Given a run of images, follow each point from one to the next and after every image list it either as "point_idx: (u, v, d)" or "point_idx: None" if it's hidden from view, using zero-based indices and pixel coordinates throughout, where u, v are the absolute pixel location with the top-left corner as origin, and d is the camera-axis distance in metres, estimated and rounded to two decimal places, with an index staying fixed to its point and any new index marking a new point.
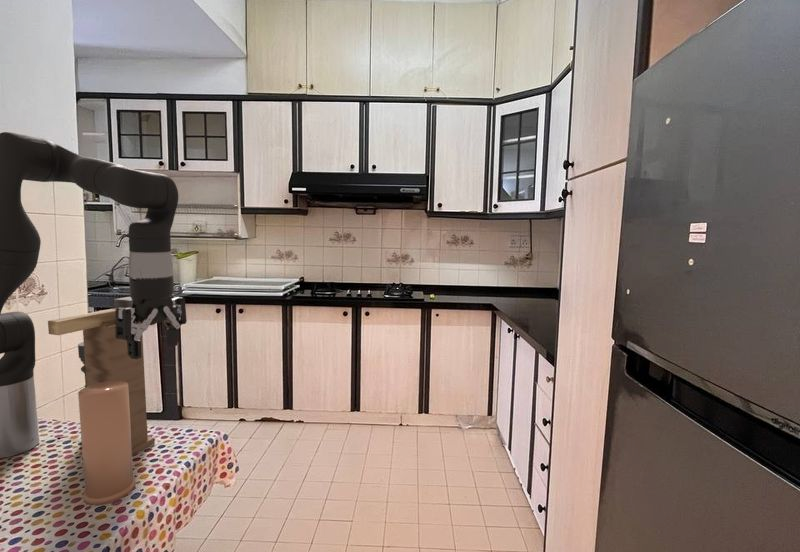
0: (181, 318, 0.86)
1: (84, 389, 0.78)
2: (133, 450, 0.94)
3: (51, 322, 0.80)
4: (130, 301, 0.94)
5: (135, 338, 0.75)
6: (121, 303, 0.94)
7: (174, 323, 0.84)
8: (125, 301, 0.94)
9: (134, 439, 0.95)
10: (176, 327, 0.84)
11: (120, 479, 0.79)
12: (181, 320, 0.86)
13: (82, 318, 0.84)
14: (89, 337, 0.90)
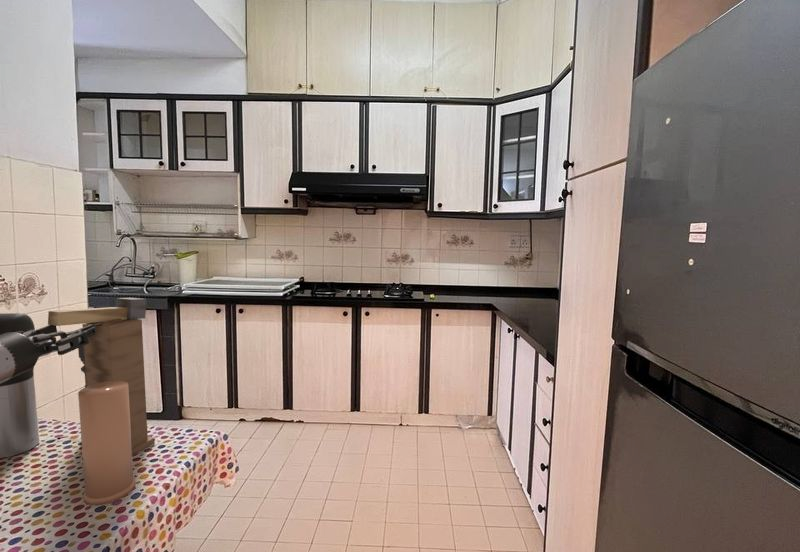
0: None
1: (84, 389, 0.78)
2: (133, 450, 0.94)
3: (52, 312, 0.80)
4: (132, 300, 0.94)
5: None
6: (123, 302, 0.95)
7: None
8: (127, 300, 0.94)
9: (134, 439, 0.95)
10: None
11: (120, 479, 0.79)
12: None
13: (83, 311, 0.85)
14: (89, 337, 0.90)
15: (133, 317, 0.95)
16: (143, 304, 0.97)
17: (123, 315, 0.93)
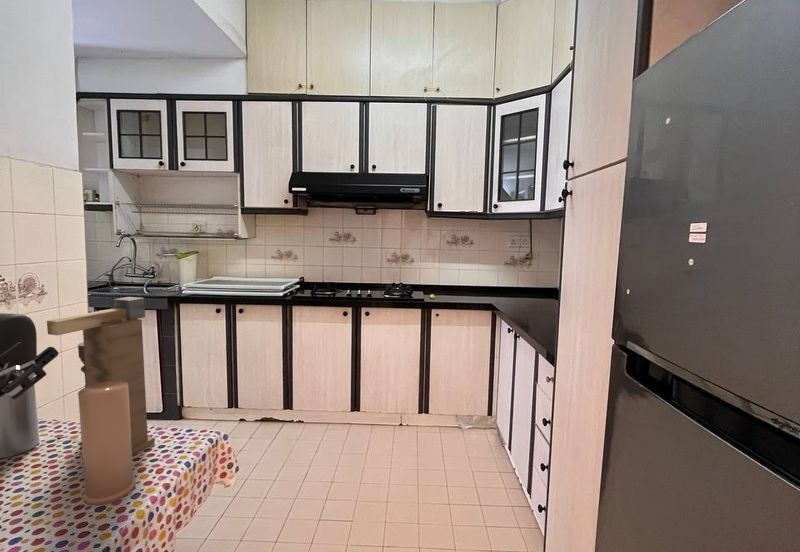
0: None
1: (84, 389, 0.78)
2: (133, 450, 0.94)
3: (50, 322, 0.80)
4: (129, 301, 0.94)
5: None
6: (121, 303, 0.94)
7: None
8: (124, 301, 0.94)
9: (134, 439, 0.95)
10: None
11: (120, 479, 0.79)
12: None
13: (81, 318, 0.84)
14: (89, 337, 0.90)
15: (133, 317, 0.95)
16: (142, 304, 0.97)
17: (122, 316, 0.93)
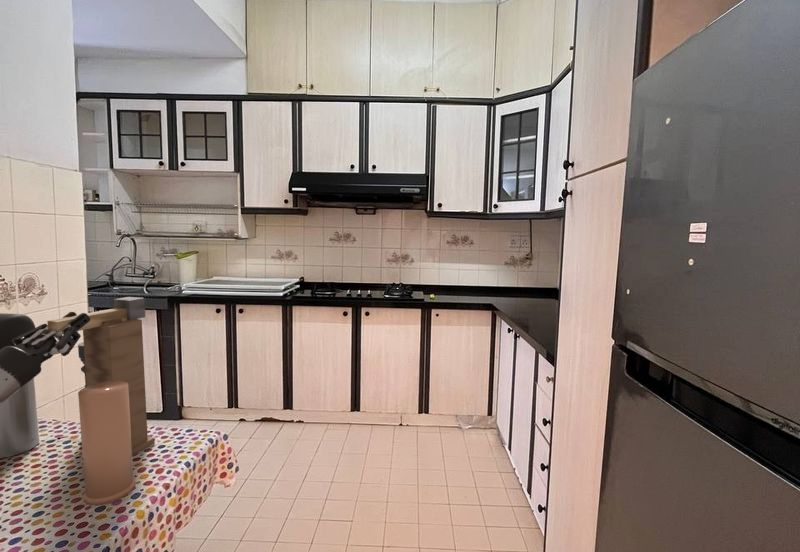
0: None
1: (84, 389, 0.78)
2: (133, 450, 0.94)
3: (51, 322, 0.80)
4: (130, 301, 0.94)
5: None
6: (121, 303, 0.94)
7: None
8: (125, 301, 0.94)
9: (134, 439, 0.95)
10: None
11: (120, 479, 0.79)
12: None
13: None
14: (89, 337, 0.90)
15: (133, 317, 0.95)
16: (142, 304, 0.97)
17: (123, 316, 0.93)
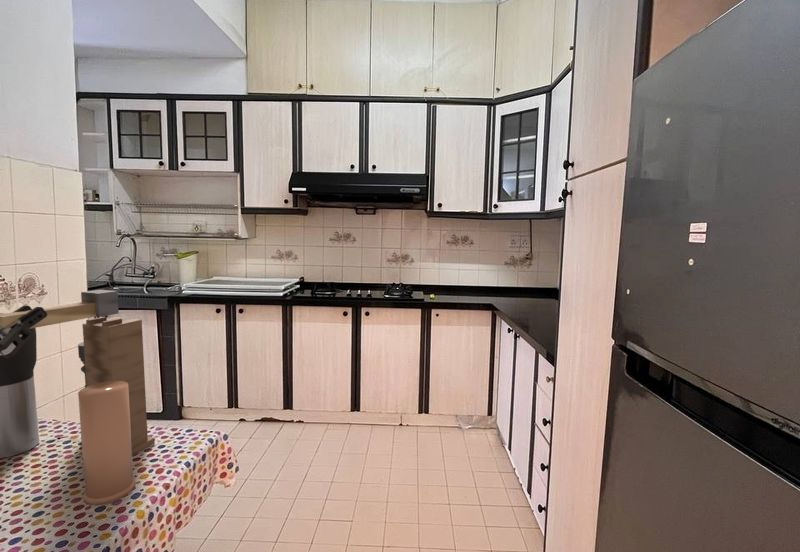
0: None
1: (84, 389, 0.78)
2: (133, 450, 0.94)
3: None
4: (99, 294, 0.80)
5: None
6: (89, 296, 0.80)
7: None
8: (93, 294, 0.80)
9: (134, 439, 0.95)
10: None
11: (120, 479, 0.79)
12: None
13: None
14: (89, 337, 0.90)
15: (103, 314, 0.81)
16: (115, 298, 0.83)
17: (90, 312, 0.79)
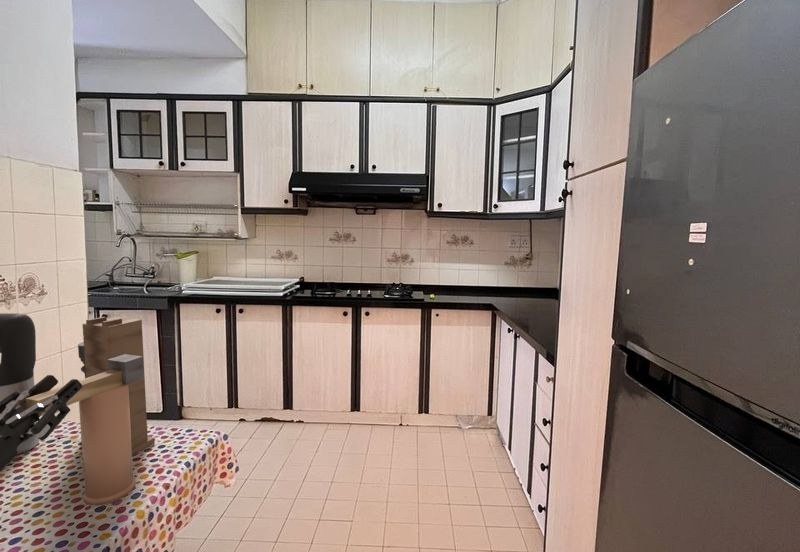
0: None
1: None
2: (133, 450, 0.94)
3: (30, 400, 0.67)
4: (125, 363, 0.81)
5: None
6: (115, 364, 0.81)
7: None
8: (120, 363, 0.81)
9: (134, 439, 0.95)
10: None
11: (120, 479, 0.79)
12: None
13: None
14: (89, 337, 0.90)
15: (129, 381, 0.82)
16: (140, 363, 0.84)
17: (117, 381, 0.80)
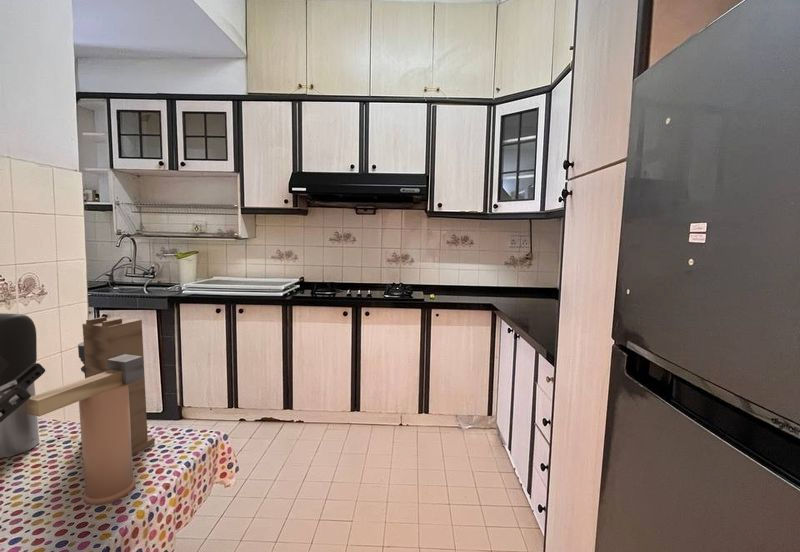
0: None
1: None
2: (133, 450, 0.94)
3: (30, 400, 0.67)
4: (125, 363, 0.81)
5: None
6: (115, 364, 0.81)
7: None
8: (120, 363, 0.81)
9: (134, 439, 0.95)
10: None
11: (120, 479, 0.79)
12: None
13: (68, 391, 0.71)
14: (89, 337, 0.90)
15: (129, 381, 0.82)
16: (140, 363, 0.84)
17: (117, 381, 0.80)
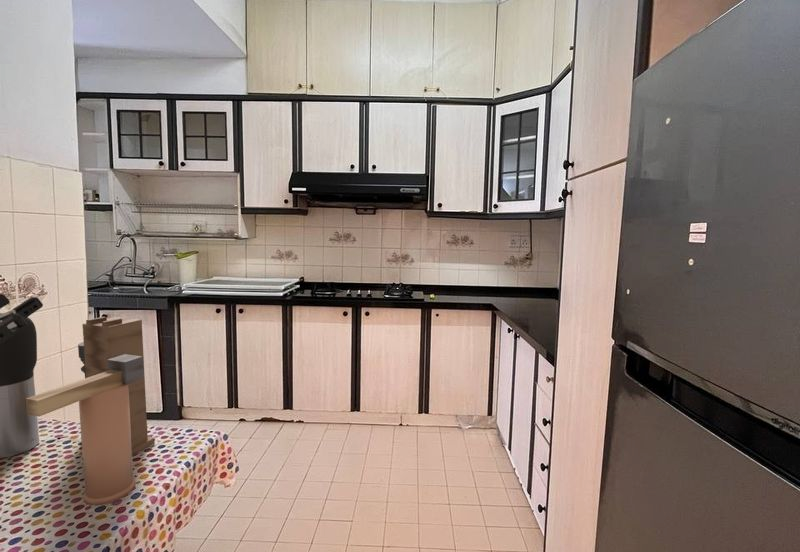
0: None
1: None
2: (133, 450, 0.94)
3: (30, 400, 0.67)
4: (125, 363, 0.81)
5: None
6: (115, 364, 0.81)
7: None
8: (120, 363, 0.81)
9: (134, 439, 0.95)
10: None
11: (120, 479, 0.79)
12: None
13: (68, 391, 0.71)
14: (89, 337, 0.90)
15: (129, 381, 0.82)
16: (140, 363, 0.84)
17: (117, 381, 0.80)
